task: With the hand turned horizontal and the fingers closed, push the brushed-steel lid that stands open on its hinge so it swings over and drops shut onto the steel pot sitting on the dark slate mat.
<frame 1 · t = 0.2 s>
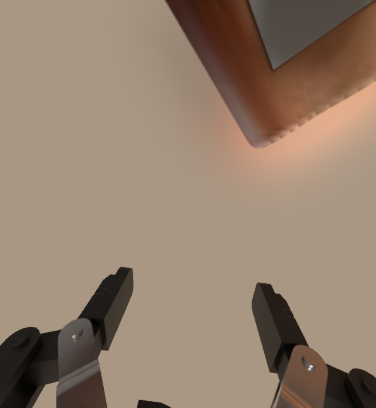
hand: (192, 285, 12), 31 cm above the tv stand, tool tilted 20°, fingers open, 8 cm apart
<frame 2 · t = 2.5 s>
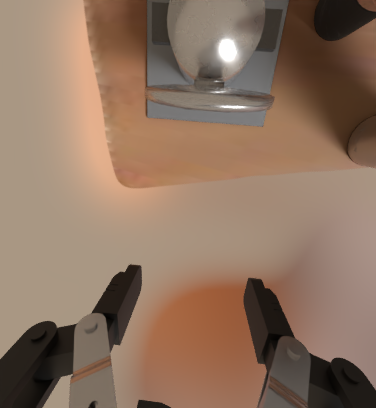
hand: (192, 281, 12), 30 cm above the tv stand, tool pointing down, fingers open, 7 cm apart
pot: (211, 50, 32), resting on mat
mat: (211, 52, 32), on the tv stand
travel mug: (337, 13, 29), on the tv stand
lid: (208, 96, 21), point 16 cm above the tv stand, hinge at 105.1°
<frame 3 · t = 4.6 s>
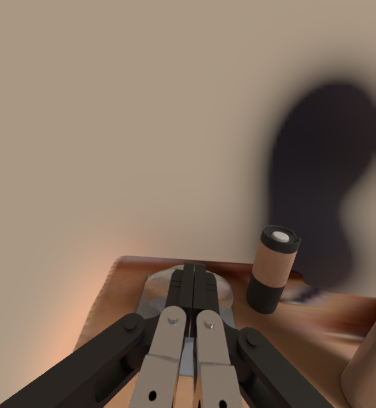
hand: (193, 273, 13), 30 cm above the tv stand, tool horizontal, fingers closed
mat: (184, 316, 42), on the tv stand
travel mug: (260, 302, 48), on the tv stand
lid: (187, 298, 28), point 16 cm above the tv stand, hinge at 105.1°
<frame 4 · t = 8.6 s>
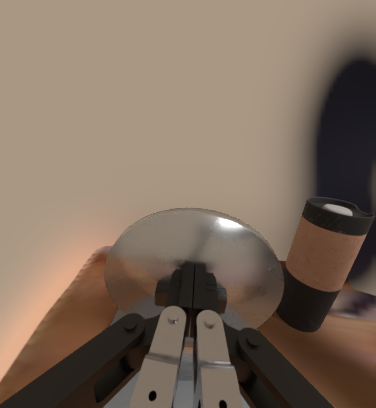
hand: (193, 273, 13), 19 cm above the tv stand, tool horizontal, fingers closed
pot: (185, 330, 28), resting on mat
mat: (184, 332, 28), on the tv stand
travel mug: (296, 312, 33), on the tv stand
lid: (190, 292, 14), point 16 cm above the tv stand, hinge at 95.1°, touching gripper
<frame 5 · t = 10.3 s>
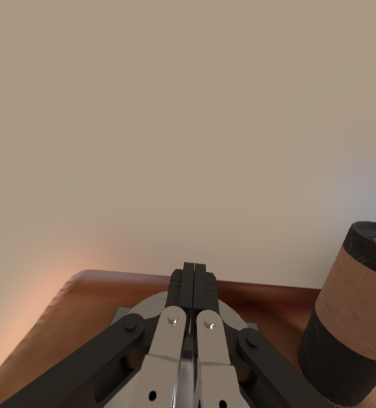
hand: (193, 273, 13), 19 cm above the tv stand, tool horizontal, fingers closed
travel mug: (326, 371, 25), on the tv stand
lid: (184, 356, 16), point 10 cm above the tv stand, hinge at -1.8°, touching pot
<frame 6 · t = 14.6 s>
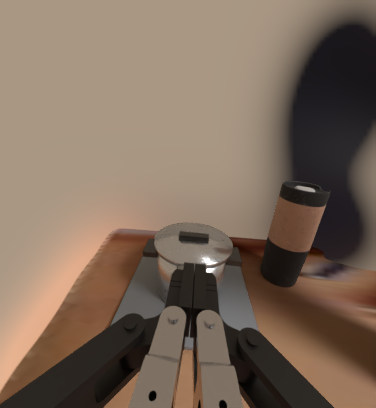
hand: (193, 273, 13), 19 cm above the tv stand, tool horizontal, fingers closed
pot: (189, 284, 36), resting on mat
mat: (188, 286, 36), on the tv stand
travel mug: (277, 275, 41), on the tv stand
lid: (193, 242, 32), point 10 cm above the tv stand, hinge at -1.8°, touching pot
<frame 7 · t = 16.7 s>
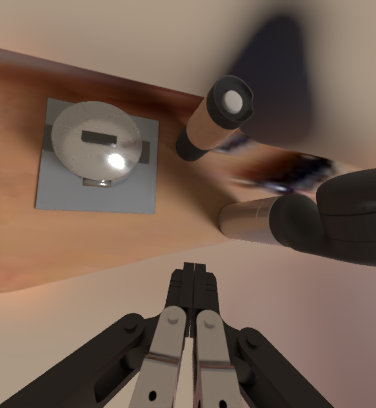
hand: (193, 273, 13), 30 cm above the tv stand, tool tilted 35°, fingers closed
pot: (104, 159, 39), resting on mat
mat: (104, 160, 40), on the tv stand
travel mug: (188, 147, 47), on the tv stand
lid: (100, 143, 30), point 10 cm above the tv stand, hinge at -1.8°, touching pot
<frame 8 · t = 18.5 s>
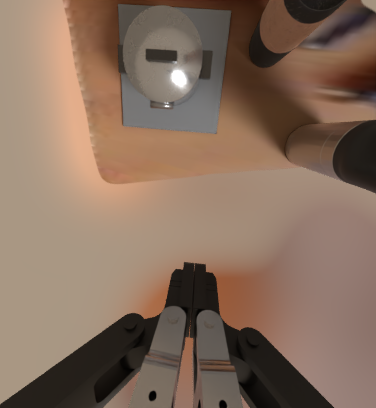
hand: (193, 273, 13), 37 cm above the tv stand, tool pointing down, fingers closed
pot: (171, 74, 40), resting on mat
mat: (171, 75, 41), on the tv stand
travel mug: (266, 47, 38), on the tv stand
lid: (162, 61, 31), point 10 cm above the tv stand, hinge at -1.8°, touching pot
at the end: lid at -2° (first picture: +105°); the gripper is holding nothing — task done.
